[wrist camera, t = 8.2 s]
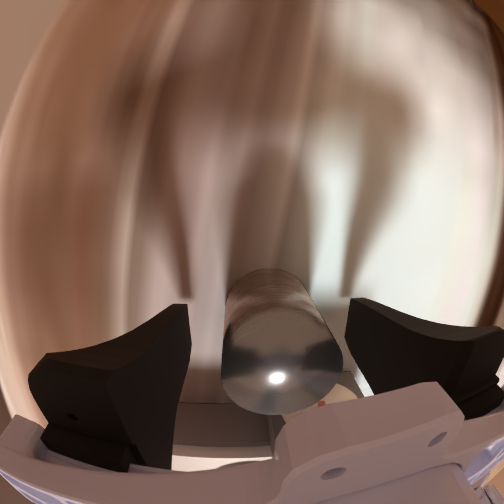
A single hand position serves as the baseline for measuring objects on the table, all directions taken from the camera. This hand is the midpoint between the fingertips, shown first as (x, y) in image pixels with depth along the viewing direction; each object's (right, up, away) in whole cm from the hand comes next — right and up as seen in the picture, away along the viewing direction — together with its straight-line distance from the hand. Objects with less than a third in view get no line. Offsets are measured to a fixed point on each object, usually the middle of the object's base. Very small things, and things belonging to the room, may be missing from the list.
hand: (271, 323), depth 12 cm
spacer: (0, 0, +1) cm, 2 cm away
